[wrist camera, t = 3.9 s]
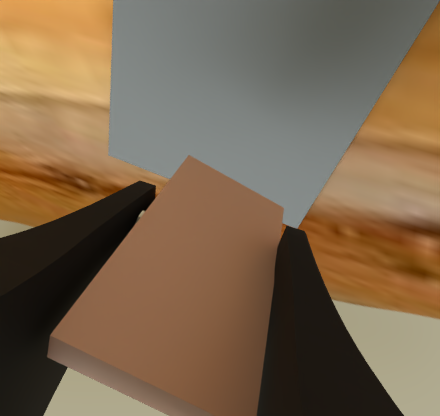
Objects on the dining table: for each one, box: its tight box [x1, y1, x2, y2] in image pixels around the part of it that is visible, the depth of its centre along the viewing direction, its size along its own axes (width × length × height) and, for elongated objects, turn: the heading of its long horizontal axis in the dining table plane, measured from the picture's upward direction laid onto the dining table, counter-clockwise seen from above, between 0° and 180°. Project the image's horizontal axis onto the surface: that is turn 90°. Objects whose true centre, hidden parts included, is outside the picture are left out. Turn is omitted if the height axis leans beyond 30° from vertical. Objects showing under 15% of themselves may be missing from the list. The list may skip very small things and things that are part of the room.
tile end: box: [47, 155, 284, 416], centre depth 9 cm, size 5×1×8 cm, turn 65°
